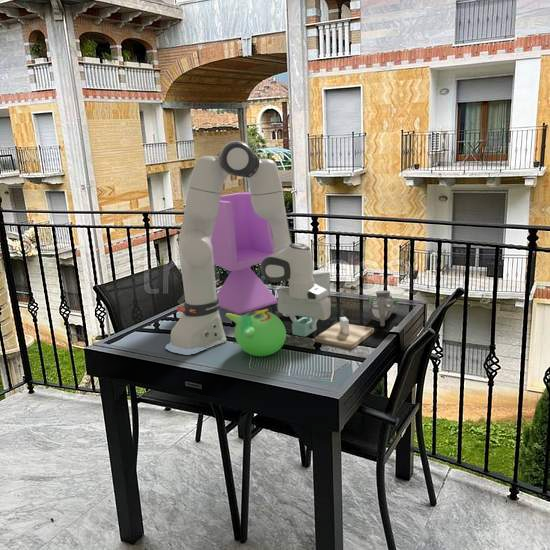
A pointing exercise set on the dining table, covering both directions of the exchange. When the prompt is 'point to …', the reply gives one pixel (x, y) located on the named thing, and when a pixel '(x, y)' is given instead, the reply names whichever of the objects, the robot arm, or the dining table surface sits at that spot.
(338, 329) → the oak plate
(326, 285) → the skincare box
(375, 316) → the pipe fitting
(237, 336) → the toy bird
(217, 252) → the chair
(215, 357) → the dining table surface
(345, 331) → the steel key shaft
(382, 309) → the mechanical component
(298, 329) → the teal collar
